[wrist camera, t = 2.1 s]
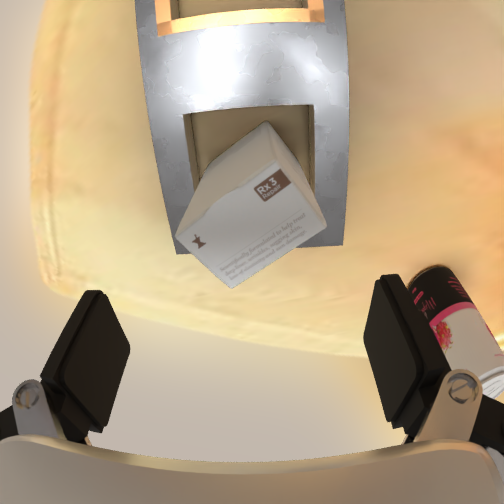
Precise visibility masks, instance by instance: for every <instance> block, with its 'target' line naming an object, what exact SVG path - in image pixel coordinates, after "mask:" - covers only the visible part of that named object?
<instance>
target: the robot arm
mask: <svg viewBox="0 0 504 504" xmlns="http://www.w3.org/2000/svg"><path fill="white" fill-rule="evenodd" d="M363 338H364V345H365V348H366V351H367V354H368V357H369V361H370V364H371V367H372V371H373V374H374V378H375V381H376V385H377V388H378V392H379V395H380V399H381V402H382V406H383V410H384V414H385V417H386V420H387V422H391V423H392V427H393V429H395V428H400V427H403V428H404V432H405V434H407V435H406V437H405V438H404V440H403V442H402V444H401V445H397V446H391V447H387V448H382V449H376V450H372V451H365V452H359V453H352V454H346V455H339V456H332V457H323V458H314V459H304V460H293V461H276V462H206V461H190V460H178V459H168V458H158V457H151V456H144V455H137V454H130V453H124V452H119V451H113V450H108V449H103V448H98V447H93V446H92V444H91V442H90V440H89V438H88V436H87V435H88V431H89V430H90V431H93V432H98V433H102V431H103V428H104V427H105V426H107V424H108V421H109V417H110V414H111V410H112V407H113V404H114V401H115V397H116V394H117V391H118V388H119V384H120V381H121V378H122V375H123V372H124V369H125V366H126V363H127V359H128V357H129V354H130V344H129V342H128V340H127V338H126V336H125V334H124V332H123V330H122V328H121V326H120V323H119V321H118V319H117V317H116V315H115V312H114V310H113V308H112V306H111V304H110V301H109V299H108V297H107V295H106V294H103V292H102V291H101V290H87V291H85V292H84V294H83V296H82V297H81V299H80V301H79V302H78V304H77V306H76V308H75V309H74V311H73V313H72V315H71V317H70V318H69V320H68V322H67V324H66V326H65V327H64V329H63V331H62V333H61V335H60V337H59V339H58V341H57V342H56V344H55V346H54V348H53V350H52V352H51V354H50V356H49V358H48V360H47V362H46V364H45V367H44V368H43V371H42V373H41V375H40V377H41V378H42V380H41V382H39V381H37V380H34V379H31V380H27V381H24V382H22V383H21V384H20V385H19V386H18V387H17V388H16V390H15V391H14V393H13V397H12V406H10V407H9V408H7V409H5V410H3V411H2V412H0V504H504V404H503V403H501V402H499V401H497V400H495V399H492V398H490V397H488V396H486V395H484V394H483V388H482V384H481V382H480V380H479V378H478V377H477V376H476V375H475V374H474V373H472V372H470V371H469V370H465V369H455V370H451V368H450V365H449V363H448V361H447V359H446V357H445V355H444V353H443V350H442V348H441V346H440V344H439V342H438V340H437V338H436V336H435V334H434V332H433V330H432V328H431V326H430V324H429V322H428V321H427V319H426V317H425V315H424V313H423V312H422V311H421V310H420V309H417V307H416V305H415V303H414V301H413V299H412V298H411V296H410V294H409V292H408V290H407V288H406V287H405V285H404V283H403V281H402V280H401V278H400V276H399V275H398V274H388V275H382V276H381V277H380V280H376V281H375V286H374V291H373V295H372V300H371V305H370V309H369V314H368V318H367V322H366V327H365V331H364V337H363Z"/></svg>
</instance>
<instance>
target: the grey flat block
mask: <svg viewBox="0 0 504 504" xmlns="http://www.w3.org/2000/svg"><path fill="white" fill-rule="evenodd" d="M135 10H136V22H137V32H138V42H139V51H140V60H141V68H142V76H143V83H144V90H145V97H146V104H147V110H148V117H149V123H150V129H151V135H152V140H153V146H154V151H155V157H156V162H157V167H158V173H159V178H160V183H161V188H162V192H163V197H164V202H165V207H166V211H167V216H168V220H169V225H170V229H171V233H172V238H173V242H174V246H175V250H176V254H192V253H190V252H189V251H188V250H187V249H186V248H185V247H184V246H183V245H182V244H181V243H180V242H179V241H178V240H177V239H176V237H175V234H176V231H177V229H178V227H179V224H180V222H181V220H182V218H183V216H184V214H185V212H186V210H187V208H188V206H189V203H190V201H191V199H192V197H193V195H194V193H195V191H196V189H197V187H198V185H199V183H200V179H199V172H198V166H197V159H196V152H195V145H194V137H193V130H192V123H191V115H190V113H195V112H203V111H212V110H221V109H231V108H243V107H257V106H275V105H309V142H310V188H311V190H312V192H313V194H314V197H315V199H316V201H317V203H318V205H319V207H320V209H321V212H322V214H323V216H324V219H325V221H326V224H327V227H326V228H325V229H323V230H322V231H320V232H319V233H317V234H316V235H314V236H313V237H311V238H309V239H308V240H306V241H305V242H303V243H302V244H300V245H299V246H297V247H296V248H302V247H320V246H339V245H343V237H344V225H345V212H346V197H347V179H348V153H349V71H348V47H347V30H346V17H345V5H344V0H302V8H281V9H256V10H242V11H231V12H222V13H214V14H206V15H199V16H193V17H187V18H182V19H180V17H179V6H178V0H135Z"/></svg>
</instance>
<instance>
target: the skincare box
mask: <svg viewBox="0 0 504 504" xmlns="http://www.w3.org/2000/svg"><path fill="white" fill-rule="evenodd" d="M326 227H327V224H326V221H325V219H324V216H323V214H322V212H321V209H320V207H319V205H318V203H317V201H316V199H315V197H314V194H313V192H312V190H311V188H310V186H309V183H308V181H307V179H306V177H305V174H304V172H303V170H302V168H301V166H300V164H299V162H298V160H297V158H296V157H295V156H294V155H293V153H292V152H291V151H290V149H289V148H288V147H287V146H286V144H285V143H284V142H283V140H282V139H281V138H280V136H279V135H278V134H277V132H276V131H275V130H274V129H273V127H272V126H271V125H270V123H269V122H268V121H264V122H263V123H262V124H260V125H259V126H258V127H256V128H255V129H253V130H252V131H251V132H249V133H248V134H247V135H245V136H244V137H243V138H241V139H240V140H239V141H237V142H236V143H235V144H234V145H232V146H231V147H230V148H228V149H227V150H226V151H224V152H223V153H222V154H221V155H219V156H218V157H217V158H216V159H214V160H213V161H212V162H211V163H210V164H209V165H208V167H207V169H206V170H205V172H204V175H203V177H202V178H201V181H200V183H199V185H198V187H197V189H196V191H195V193H194V195H193V197H192V199H191V201H190V203H189V206H188V208H187V210H186V212H185V214H184V216H183V218H182V220H181V222H180V224H179V227H178V229H177V231H176V234H175V237H176V239H177V240H178V241H179V242H180V243H181V244H182V245H183V246H184V247H185V248H186V249H187V250H188V251H189V252H190V253H192V254H193V255H194V256H195V257H196V258H197V259H198V260H199V261H200V262H201V263H202V264H203V265H205V266H206V267H207V268H208V269H209V270H210V271H211V272H212V273H213V274H214V275H215V276H216V277H218V278H219V279H220V280H221V281H222V282H223V283H225V284H226V285H227V286H228V287H229V288H234V287H235V286H237V285H239V284H240V283H242V282H243V281H245V280H246V279H248V278H249V277H251V276H252V275H254V274H255V273H257V272H259V271H260V270H262V269H263V268H265V267H266V266H268V265H269V264H271V263H272V262H274V261H275V260H277V259H279V258H280V257H282V256H283V255H285V254H286V253H288V252H289V251H291V250H293V249H294V248H296V247H297V246H299V245H300V244H302V243H303V242H305V241H306V240H308V239H309V238H311V237H313V236H314V235H316V234H317V233H319V232H320V231H322V230H323V229H325V228H326Z"/></svg>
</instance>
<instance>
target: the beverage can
mask: <svg viewBox="0 0 504 504" xmlns="http://www.w3.org/2000/svg"><path fill="white" fill-rule="evenodd" d="M408 292H409V294H410V296H411V298H412V299H413V301H414V303H415V305H416V307H417V309H420V310H421V311H422V312H423V313H424V315H425V317H426V319H427V321H428V322H429V324H430V326H431V328H432V330H433V332H434V334H435V336H436V338H437V340H438V342H439V344H440V346H441V348H442V350H443V353H444V355H445V357H446V359H447V361H448V363H449V365H450V368H451V370H455V369H465V370H469V371H470V372H472V373H474V374H475V375H476V376H477V377H478V378H479V380H480V382H481V384H482V388H483V394H484V395H486V396H488V397H490V398H492V399H495V398H496V397H498V396H499V395H500V394H501V393H502V392H503V391H504V354H503V352H502V351H501V349H500V347H499V345H498V343H497V342H496V340H495V338H494V336H493V335H492V333H491V331H490V329H489V328H488V326H487V324H486V323H485V321H484V319H483V318H482V316H481V314H480V313H479V311H478V310H477V308H476V306H475V305H474V303H473V302H472V300H471V299H470V297H469V296H468V294H467V293H466V291H465V290H464V288H463V287H462V285H461V284H460V282H459V281H458V279H457V278H456V276H455V275H454V274H453V272H452V271H451V270H450V269H448V268H446V267H435V268H431V269H428V270H426V271H424V272H422V273H421V274H420V275H418V276H417V277H416V278H415V279H414V281H413V282H412V283H411V285H410V287H409V288H408Z"/></svg>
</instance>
